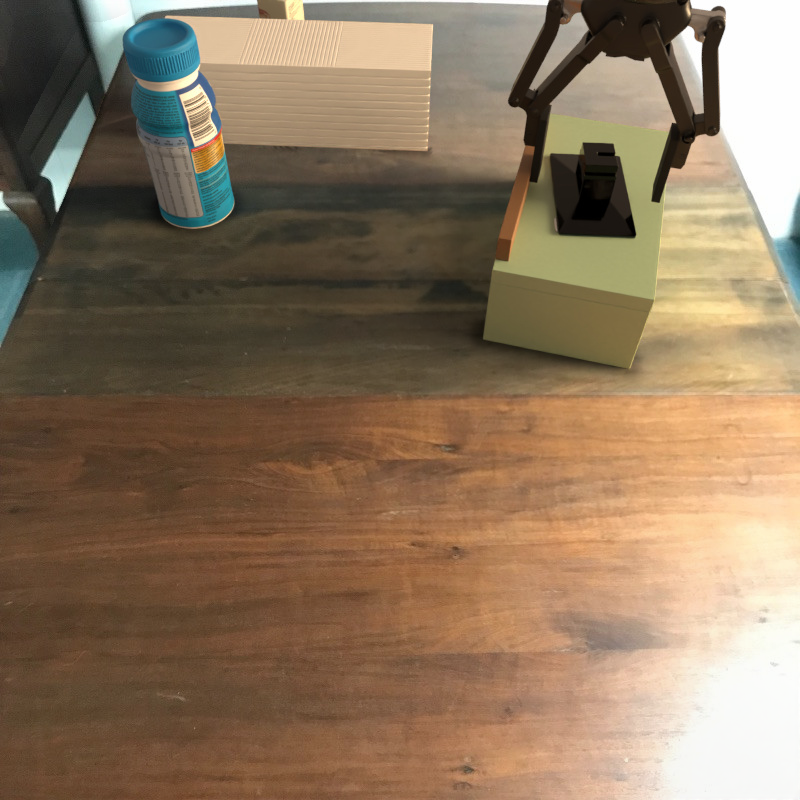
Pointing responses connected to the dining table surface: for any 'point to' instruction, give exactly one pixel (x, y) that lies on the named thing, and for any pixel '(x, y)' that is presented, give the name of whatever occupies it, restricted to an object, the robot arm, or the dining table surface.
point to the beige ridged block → (318, 81)
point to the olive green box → (578, 256)
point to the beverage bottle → (178, 123)
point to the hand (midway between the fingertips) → (595, 183)
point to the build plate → (591, 193)
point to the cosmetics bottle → (281, 9)
